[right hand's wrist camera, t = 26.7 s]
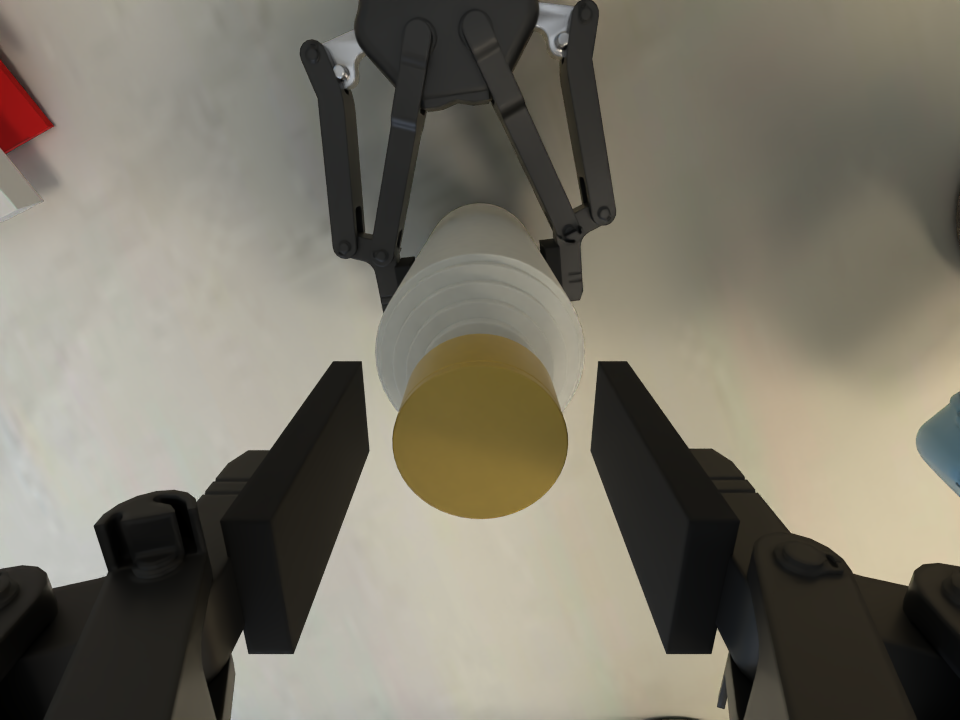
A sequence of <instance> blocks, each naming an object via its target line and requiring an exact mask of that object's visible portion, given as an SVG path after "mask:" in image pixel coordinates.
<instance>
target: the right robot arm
mask: <svg viewBox="0 0 960 720" xmlns="http://www.w3.org/2000/svg"><path fill="white" fill-rule="evenodd" d="M368 453H369V440H368V428H367V417H366V405H365V394H364V382H363V371H362V361H333V362H332V364H331V365H330V366H329V368H328V369H327V371H326V372H325V374H324V375H323V376H322V378H321V379H320V381H319V382H318V383H317V385H316V386H315V388H314V389H313V390H312V392H311V393H310V395H309V396H308V397H307V399H306V400H305V402H304V403H303V404H302V406H301V407H300V409H299V410H298V411H297V413H296V414H295V416H294V417H293V419H292V420H291V421H290V423H289V424H288V426H287V427H286V428H285V430H284V431H283V433H282V434H281V435H280V437H279V438H278V440H277V441H276V442H275V444H274V445H273V447H272V448H271V449H270V450H248V451H247V452H245V453H244V454H242V455H240V456H239V457H237V458H236V459H234V460H233V461H231V462H230V463H228V464H227V465H226V467H225V468H224V469H223V470H222V472H221V473H220V474H219V475H218V476H217V478H216V481H215V482H213V483H212V484H211V485H210V486H209V487H208V489H207V490H206V491H205V495H202V496H201V497H200V498H199V500H198V501H197V502H196V499H195V498H194V497H193V496H191V495H190V494H189V493H188V492H182V491H177V490H166V491H155V492H151V493H147V494H143V495H139V496H136V497H134V498H132V499H129V500H127V501H125V502H122V503H120V504H118V505H117V506H115V507H114V508H112V509H111V510H109V511H108V512H106V513H105V514H103V516H102V517H101V518H100V519H99V520H98V521H97V523H96V524H95V525H94V529H95V532H96V535H97V538H98V541H99V544H100V547H101V550H102V553H103V556H104V560H105V563H106V566H107V569H108V574H107V576H105V577H102V578H98V579H94V580H89V581H84V582H80V583H75V584H71V585H66V586H61V587H57V588H52V586H51V584H50V581H49V578H48V576H47V573H46V572H44V571H43V570H42V569H40V568H39V567H35V566H24V565H21V566H15V567H9V568H3V569H0V720H230V719H231V709H232V700H233V691H234V682H235V669H234V662H233V658H232V654H231V653H232V651H233V649H234V647H235V645H236V643H237V641H238V639H239V637H240V635H241V633H242V631H244V635H245V640H246V644H247V649H248V654H294V651H295V649H296V646H297V643H298V641H299V638H300V635H301V633H302V630H303V627H304V625H305V622H306V619H307V617H308V614H309V611H310V609H311V606H312V603H313V600H314V598H315V595H316V592H317V590H318V587H319V584H320V582H321V579H322V576H323V574H324V571H325V568H326V566H327V563H328V560H329V558H330V555H331V552H332V550H333V547H334V544H335V542H336V539H337V536H338V534H339V531H340V528H341V526H342V523H343V520H344V518H345V515H346V512H347V509H348V507H349V504H350V501H351V499H352V496H353V493H354V491H355V488H356V485H357V483H358V480H359V477H360V475H361V472H362V469H363V467H364V464H365V461H366V459H367V456H368ZM591 453H592V456H593V459H594V461H595V464H596V467H597V469H598V472H599V475H600V477H601V480H602V483H603V485H604V488H605V491H606V493H607V496H608V499H609V501H610V504H611V507H612V510H613V512H614V515H615V518H616V520H617V523H618V526H619V528H620V531H621V534H622V536H623V539H624V542H625V544H626V547H627V550H628V552H629V555H630V558H631V560H632V563H633V566H634V568H635V571H636V574H637V576H638V579H639V582H640V584H641V587H642V590H643V592H644V595H645V598H646V601H647V603H648V606H649V609H650V611H651V614H652V617H653V619H654V622H655V625H656V627H657V630H658V633H659V635H660V638H661V641H662V643H663V646H664V649H665V651H666V654H712V649H713V644H714V640H715V635H716V631H717V628H718V630H719V632H720V634H721V636H722V638H723V640H724V642H725V644H726V646H727V648H728V650H729V654H728V658H727V662H726V667H725V671H724V675H723V680H722V684H721V688H720V693H719V698H718V704H717V707H719V708H722V709H725V705H726V701H727V699H728V708H729V717H730V720H960V567H959V566H954V565H948V564H942V563H933V564H923V565H922V566H920V567H919V568H917V569H916V570H915V571H914V573H913V576H912V578H911V581H910V584H909V586H905V585H900V584H896V583H891V582H886V581H882V580H877V579H873V578H868V577H863V576H860V575H856V574H853V573H852V571H851V569H850V568H849V567H848V565H847V564H846V562H845V561H844V560H843V559H842V558H841V557H840V556H839V555H837V554H836V553H835V552H833V551H832V550H831V549H830V548H828V547H826V546H824V545H822V544H820V543H818V542H816V541H814V540H812V539H810V538H806V537H803V536H800V535H796V534H793V533H790V531H789V530H788V529H787V528H786V527H785V525H784V524H783V523H782V522H781V520H780V519H779V518H778V517H777V516H776V514H775V513H774V512H773V511H772V509H771V508H770V507H769V506H768V505H767V503H766V502H765V501H764V500H763V499H762V497H761V496H760V495H759V494H758V493H755V489H754V488H753V486H752V485H751V484H750V483H749V482H748V480H745V477H744V475H743V474H742V473H741V472H740V471H739V469H738V468H737V467H736V466H735V464H734V463H733V462H732V461H730V460H729V459H727V458H726V457H724V456H723V455H721V454H719V453H718V452H716V451H715V450H713V449H689V448H688V447H687V445H686V444H685V442H684V441H683V440H682V438H681V437H680V435H679V434H678V433H677V431H676V430H675V428H674V427H673V426H672V424H671V423H670V421H669V420H668V419H667V417H666V416H665V414H664V413H663V411H662V410H661V409H660V407H659V406H658V404H657V403H656V402H655V400H654V399H653V397H652V396H651V395H650V393H649V392H648V390H647V389H646V388H645V386H644V385H643V383H642V382H641V381H640V379H639V378H638V376H637V375H636V374H635V372H634V371H633V369H632V368H631V367H630V365H629V364H628V362H627V361H598V371H597V382H596V394H595V405H594V417H593V428H592V440H591ZM664 720H685V719H664Z"/></svg>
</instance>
